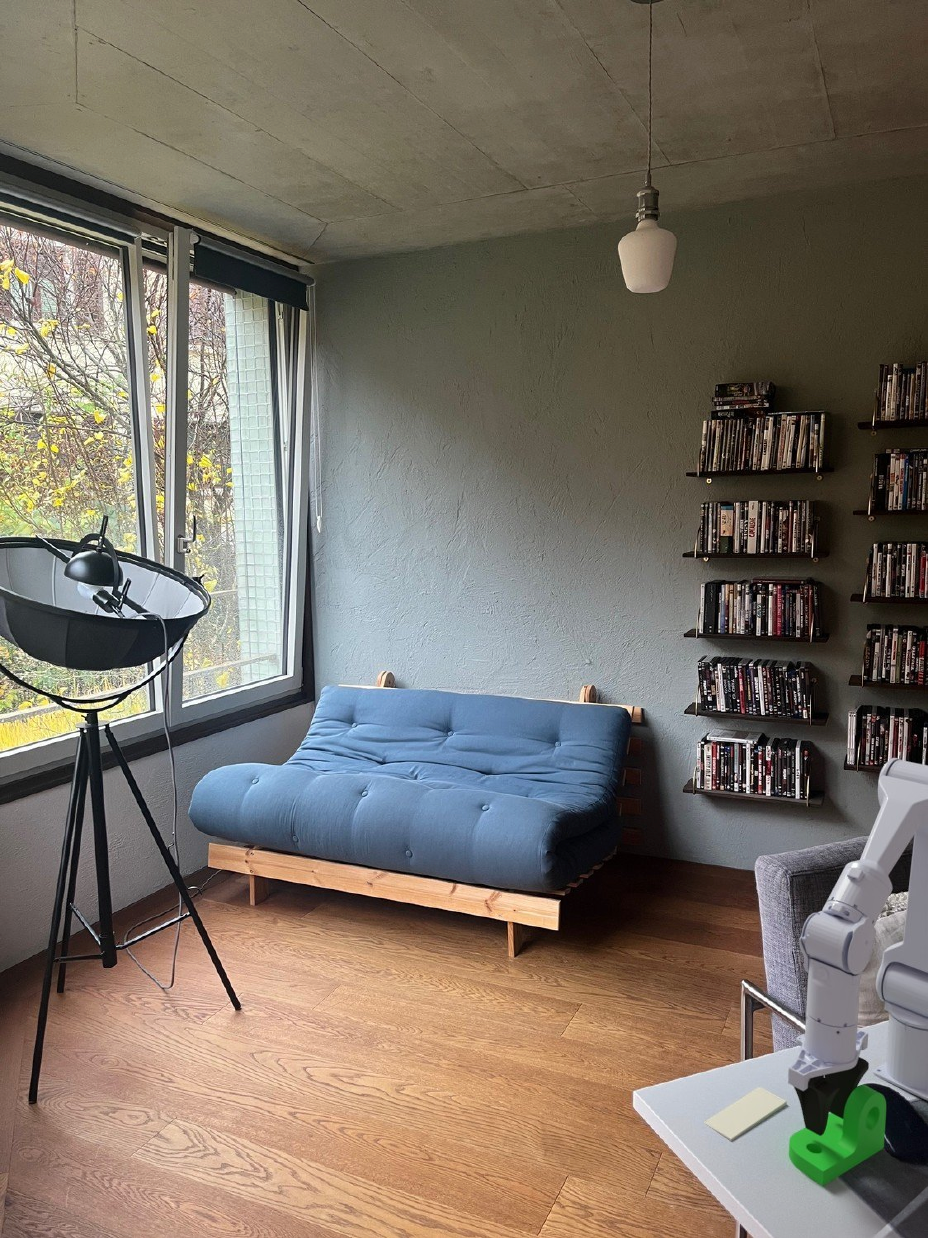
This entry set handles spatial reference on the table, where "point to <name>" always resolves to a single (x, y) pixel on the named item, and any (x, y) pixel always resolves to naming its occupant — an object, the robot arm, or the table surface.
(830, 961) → the robot arm
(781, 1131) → the table surface
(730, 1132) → the plate
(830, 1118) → the mechanical part
